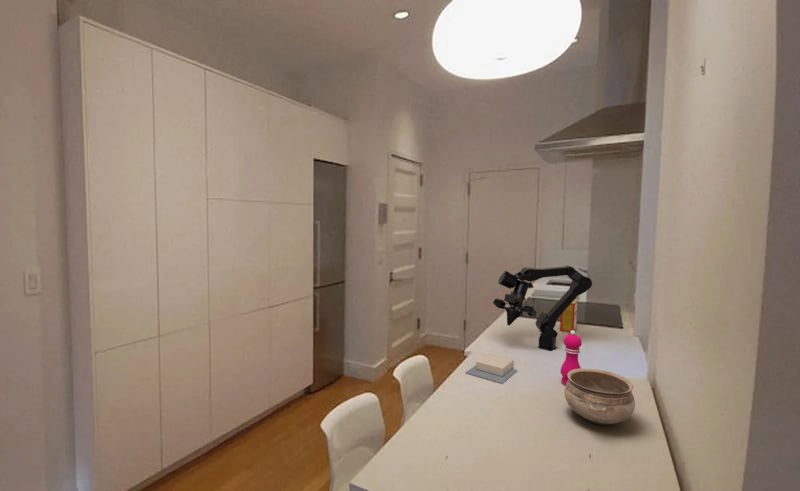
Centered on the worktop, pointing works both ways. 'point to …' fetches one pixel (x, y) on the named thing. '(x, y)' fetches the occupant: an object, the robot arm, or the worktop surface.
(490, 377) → the slate mat
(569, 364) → the pepper mill
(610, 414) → the cooking pot
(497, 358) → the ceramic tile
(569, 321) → the baking soda box
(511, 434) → the worktop surface
